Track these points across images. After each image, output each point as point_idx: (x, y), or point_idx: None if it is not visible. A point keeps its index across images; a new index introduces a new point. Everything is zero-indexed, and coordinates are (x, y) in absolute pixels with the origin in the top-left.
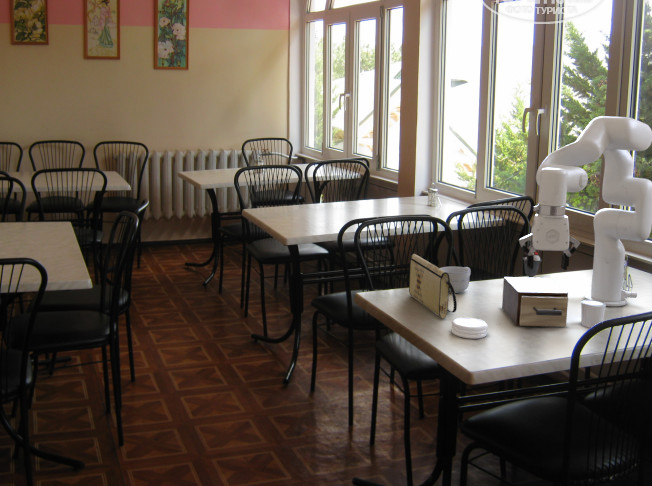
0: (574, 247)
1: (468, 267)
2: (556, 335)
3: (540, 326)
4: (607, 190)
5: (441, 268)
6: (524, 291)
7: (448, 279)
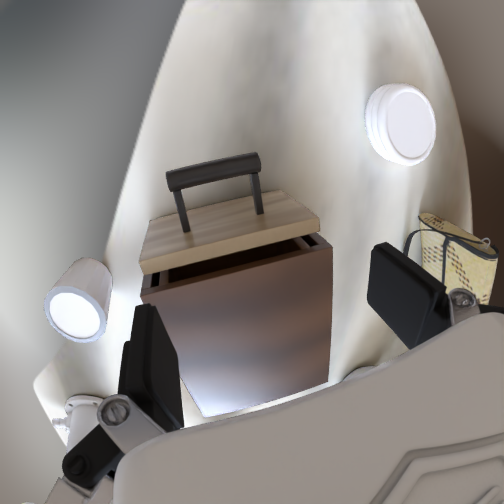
0: (74, 482)
1: None
2: (181, 153)
3: None
4: None
5: None
6: (310, 260)
7: (479, 254)
